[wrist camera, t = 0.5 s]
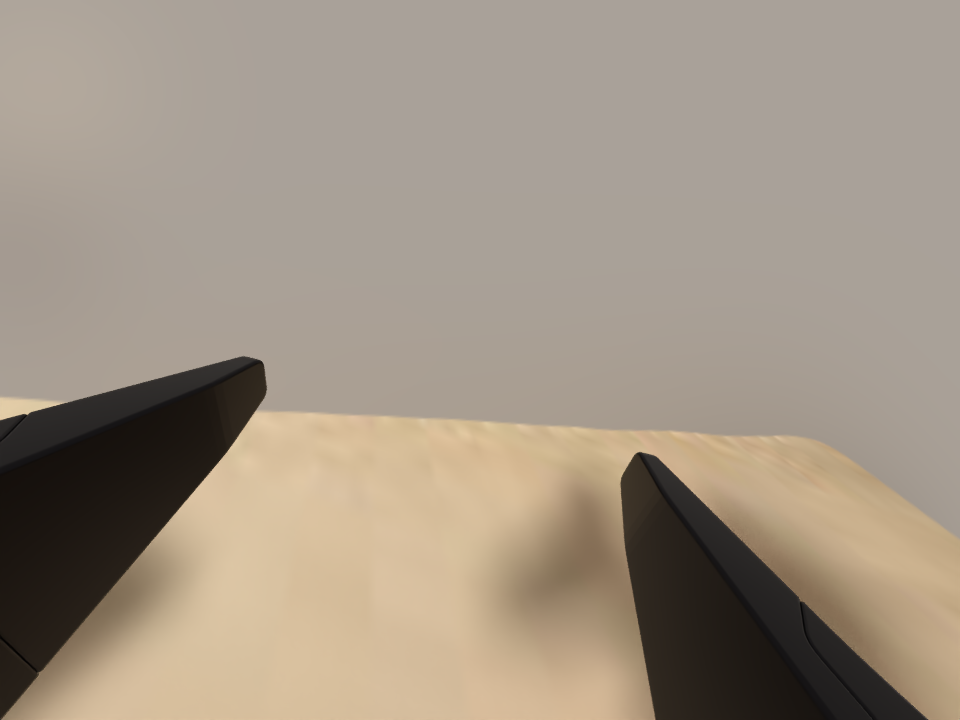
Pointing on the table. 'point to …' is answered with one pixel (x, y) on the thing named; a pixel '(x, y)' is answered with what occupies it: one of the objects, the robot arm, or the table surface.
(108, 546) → the robot arm
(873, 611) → the table surface
